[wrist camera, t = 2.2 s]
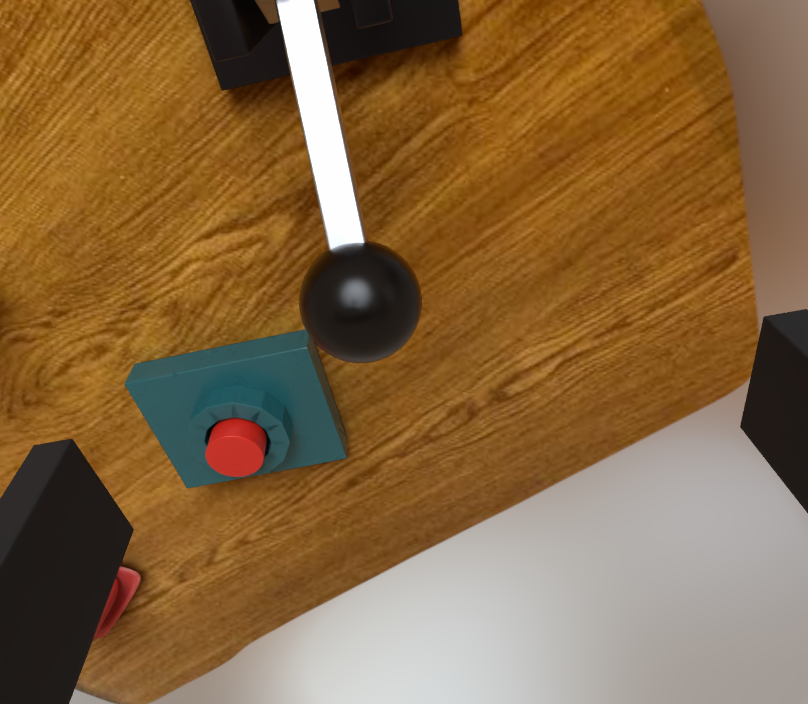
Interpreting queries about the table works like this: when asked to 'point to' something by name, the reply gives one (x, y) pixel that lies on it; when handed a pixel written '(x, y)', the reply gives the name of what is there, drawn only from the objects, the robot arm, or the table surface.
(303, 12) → the lever
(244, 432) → the button
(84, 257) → the table surface
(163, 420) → the button box
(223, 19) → the bracket
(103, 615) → the butter dish
